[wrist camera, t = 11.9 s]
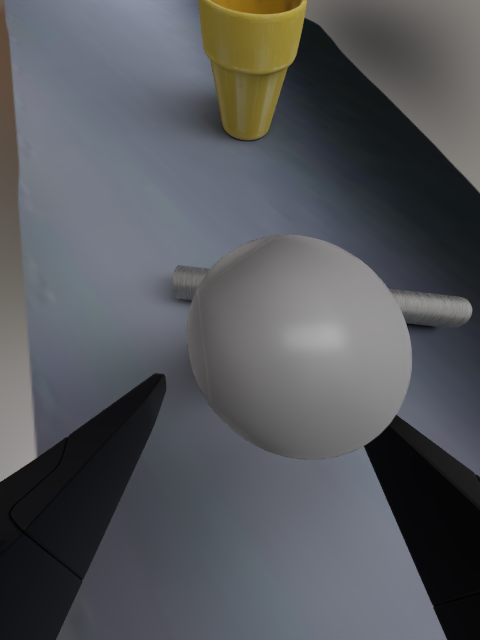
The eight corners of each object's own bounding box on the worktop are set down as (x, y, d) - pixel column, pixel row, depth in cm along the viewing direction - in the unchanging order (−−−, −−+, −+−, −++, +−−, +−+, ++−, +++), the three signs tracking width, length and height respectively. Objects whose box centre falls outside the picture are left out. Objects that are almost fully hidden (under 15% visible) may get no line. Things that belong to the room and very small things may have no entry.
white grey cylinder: (273, 396, 16) (435, 471, 3) (215, 390, 16) (163, 447, 3) (275, 339, 17) (393, 246, 5) (222, 334, 17) (205, 224, 5)
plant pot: (193, 118, 26) (174, -26, 17) (249, 96, 28) (260, -41, 19) (238, 161, 24) (245, 24, 15) (295, 133, 26) (331, 0, 17)
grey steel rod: (439, 334, 18) (487, 324, 15) (178, 306, 18) (166, 289, 14) (431, 301, 19) (474, 284, 16) (185, 273, 19) (176, 250, 15)
